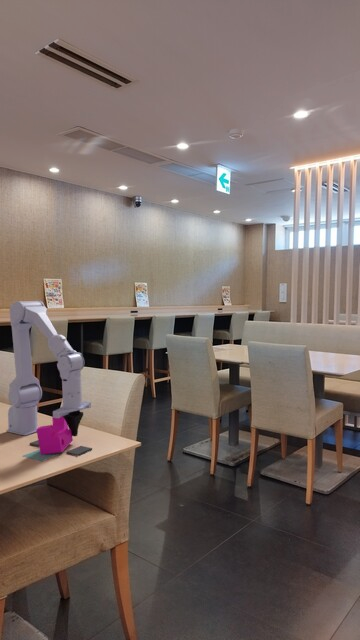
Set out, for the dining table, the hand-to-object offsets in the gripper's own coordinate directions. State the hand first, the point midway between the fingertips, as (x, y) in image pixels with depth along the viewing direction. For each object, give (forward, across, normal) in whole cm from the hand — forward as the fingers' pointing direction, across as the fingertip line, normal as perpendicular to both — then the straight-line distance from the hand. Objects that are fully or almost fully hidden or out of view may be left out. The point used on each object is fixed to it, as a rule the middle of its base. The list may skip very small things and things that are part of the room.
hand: (73, 435), depth 143 cm
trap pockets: (+2, -5, +1) cm, 6 cm away
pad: (+2, -12, +1) cm, 12 cm away
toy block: (+2, -4, +1) cm, 5 cm away
